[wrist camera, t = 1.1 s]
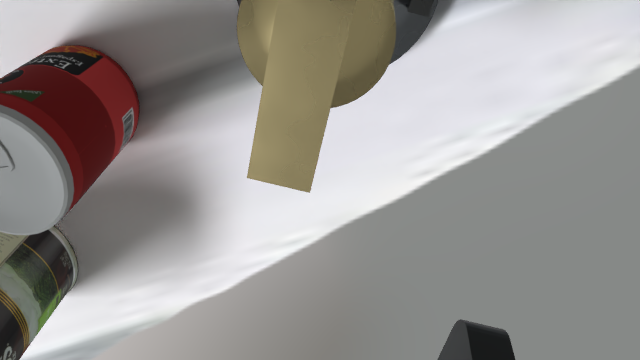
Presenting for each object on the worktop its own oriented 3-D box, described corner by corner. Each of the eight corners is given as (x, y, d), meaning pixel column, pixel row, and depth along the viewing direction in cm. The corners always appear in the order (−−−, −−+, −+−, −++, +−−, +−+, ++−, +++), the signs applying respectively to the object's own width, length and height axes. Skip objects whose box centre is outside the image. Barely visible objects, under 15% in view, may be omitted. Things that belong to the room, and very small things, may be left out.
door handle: (269, -113, 23) (224, -97, 16) (422, -74, 23) (437, -44, 17) (234, 118, 28) (190, 198, 22) (359, 148, 28) (351, 236, 22)
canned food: (101, 23, 37) (3, 84, 27) (165, 127, 40) (98, 214, 31) (11, 66, 39) (-108, 136, 29) (79, 161, 42) (-8, 252, 33)
